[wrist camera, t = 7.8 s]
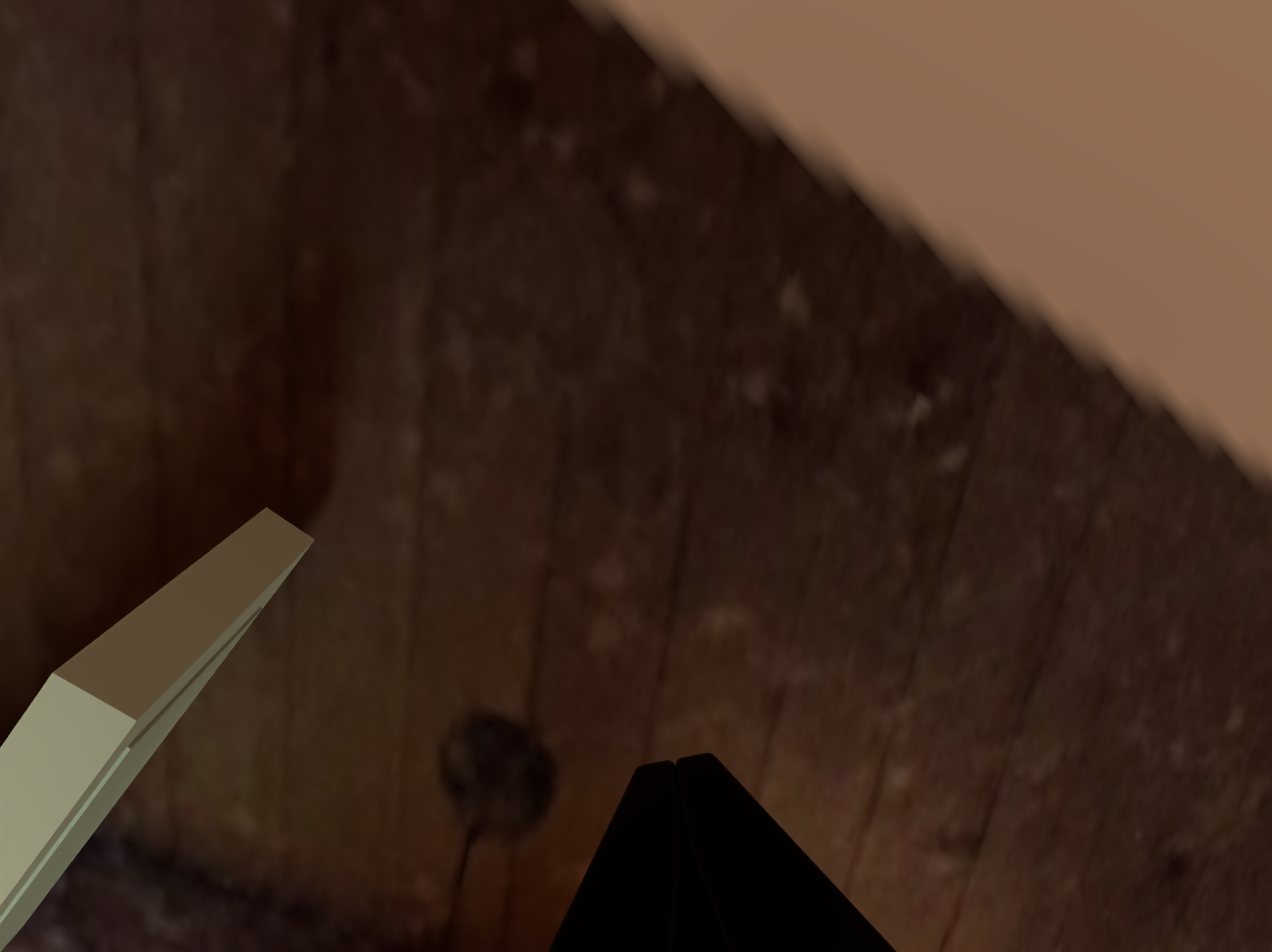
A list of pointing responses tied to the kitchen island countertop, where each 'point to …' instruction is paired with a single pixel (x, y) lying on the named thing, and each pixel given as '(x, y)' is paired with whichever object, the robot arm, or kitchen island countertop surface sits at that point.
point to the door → (124, 707)
